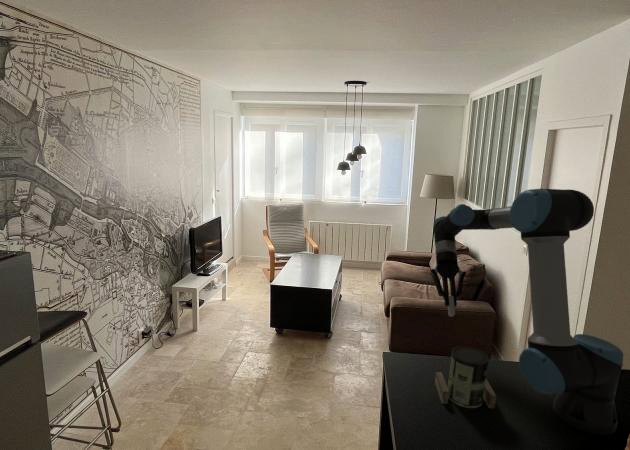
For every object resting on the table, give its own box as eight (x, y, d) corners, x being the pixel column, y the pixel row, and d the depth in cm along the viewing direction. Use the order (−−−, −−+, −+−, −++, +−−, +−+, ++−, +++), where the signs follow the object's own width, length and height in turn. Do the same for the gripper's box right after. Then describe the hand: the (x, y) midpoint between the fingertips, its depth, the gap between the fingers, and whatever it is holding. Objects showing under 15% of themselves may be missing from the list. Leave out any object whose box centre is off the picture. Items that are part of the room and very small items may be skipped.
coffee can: (479, 390, 125) (485, 348, 122) (485, 411, 115) (492, 366, 112) (444, 384, 127) (449, 343, 124) (448, 405, 117) (453, 360, 114)
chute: (483, 387, 126) (484, 376, 125) (494, 408, 116) (496, 395, 115) (434, 383, 127) (436, 371, 126) (442, 403, 117) (443, 391, 116)
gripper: (461, 260, 154) (467, 320, 142) (426, 258, 155) (430, 317, 142) (466, 251, 148) (474, 312, 135) (430, 248, 149) (435, 309, 136)
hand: (451, 315), depth 139 cm, fingers closed
